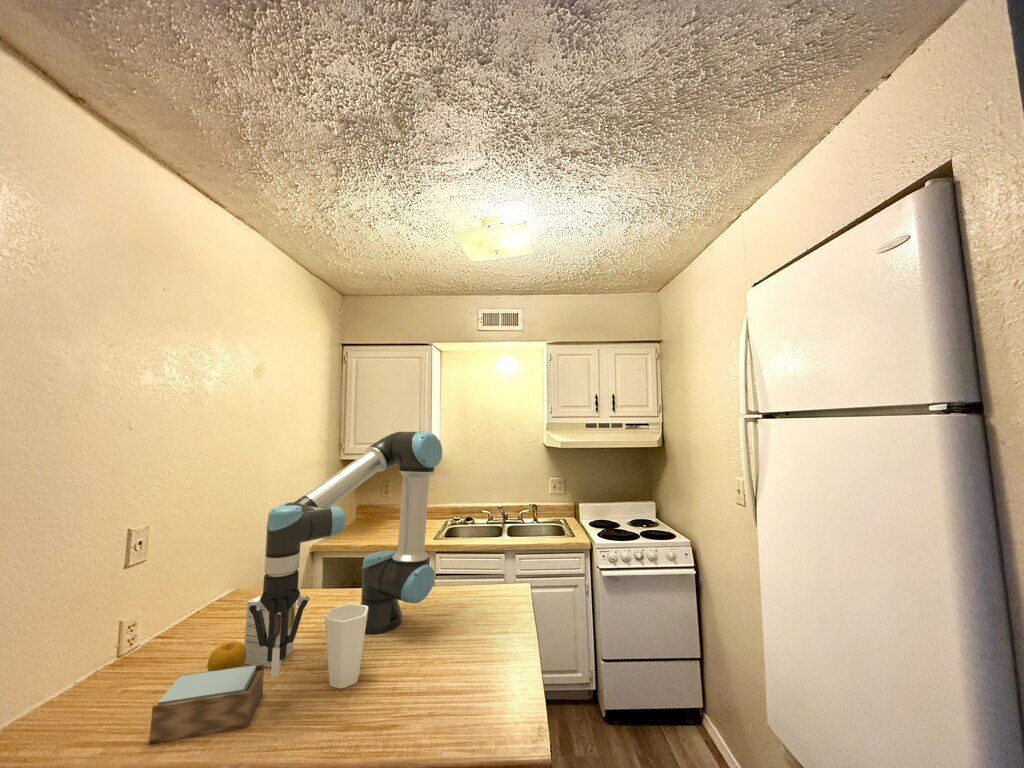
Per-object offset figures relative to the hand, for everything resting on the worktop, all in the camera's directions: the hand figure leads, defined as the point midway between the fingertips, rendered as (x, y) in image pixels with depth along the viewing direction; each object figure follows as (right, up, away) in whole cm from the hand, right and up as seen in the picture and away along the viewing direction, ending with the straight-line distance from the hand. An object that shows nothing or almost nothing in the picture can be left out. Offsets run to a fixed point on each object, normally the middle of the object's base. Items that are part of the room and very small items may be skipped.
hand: (275, 674), depth 100 cm
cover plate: (-13, -1, -4) cm, 13 cm away
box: (-12, -7, -4) cm, 15 cm away
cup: (+13, -9, +10) cm, 18 cm away
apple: (-19, -9, +10) cm, 23 cm away
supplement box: (-14, -10, +21) cm, 27 cm away
